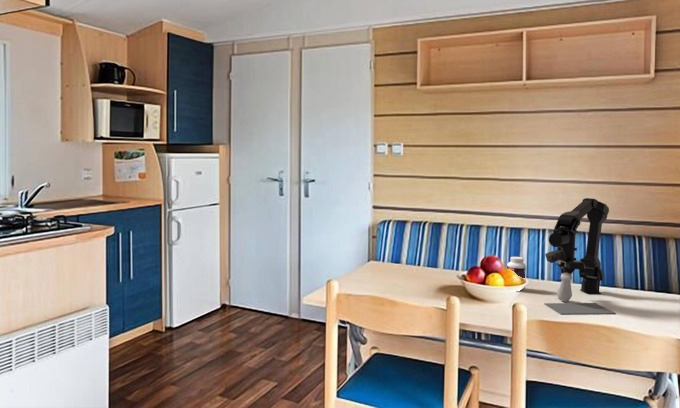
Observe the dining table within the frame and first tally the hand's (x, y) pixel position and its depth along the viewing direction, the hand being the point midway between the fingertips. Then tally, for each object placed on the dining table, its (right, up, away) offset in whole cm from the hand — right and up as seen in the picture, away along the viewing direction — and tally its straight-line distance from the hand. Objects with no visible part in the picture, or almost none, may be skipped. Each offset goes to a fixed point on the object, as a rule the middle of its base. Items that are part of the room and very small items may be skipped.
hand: (565, 281), depth 227 cm
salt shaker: (0, -7, +1) cm, 7 cm away
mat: (+1, -9, -11) cm, 14 cm away
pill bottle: (-15, -6, +19) cm, 25 cm away
